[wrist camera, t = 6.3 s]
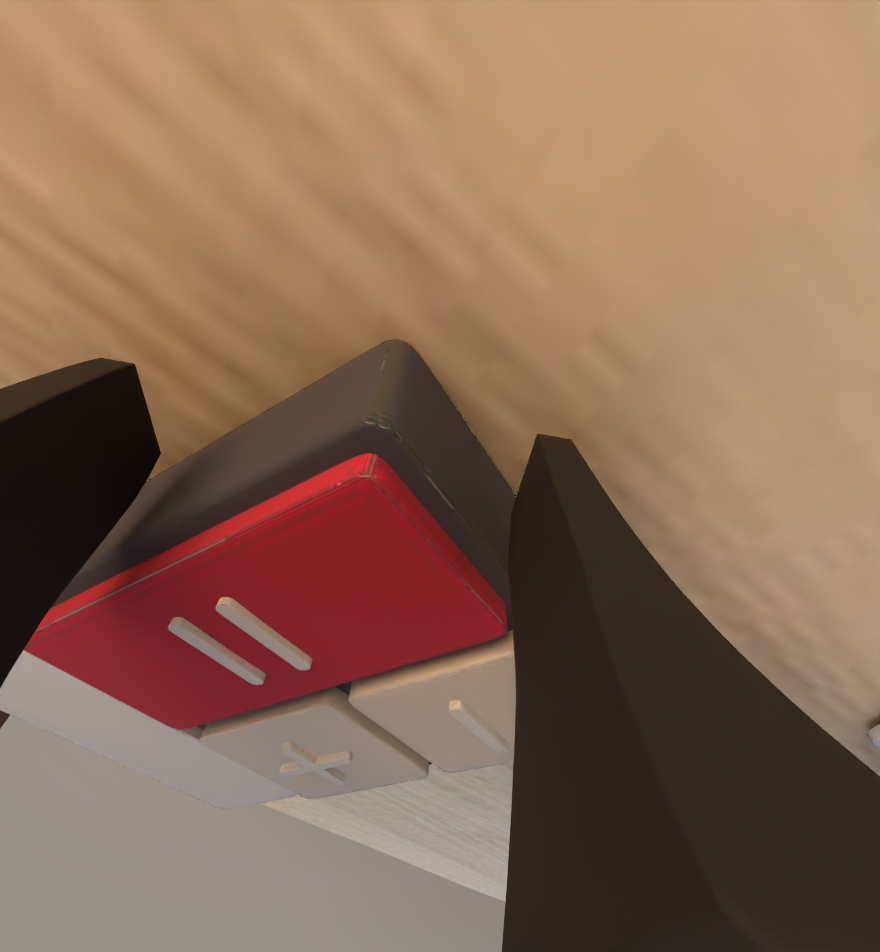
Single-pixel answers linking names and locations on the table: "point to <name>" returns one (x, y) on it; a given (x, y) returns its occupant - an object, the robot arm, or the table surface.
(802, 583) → the table surface
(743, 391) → the table surface
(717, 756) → the robot arm
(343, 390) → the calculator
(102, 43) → the table surface
